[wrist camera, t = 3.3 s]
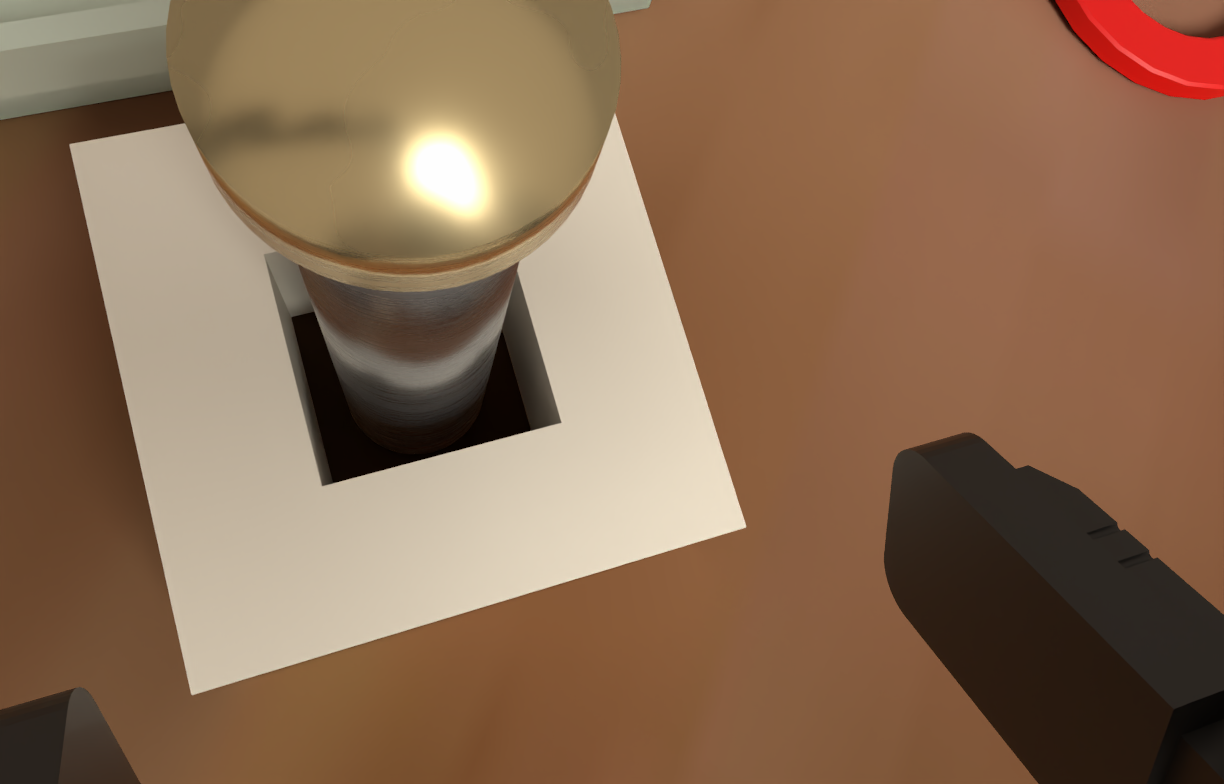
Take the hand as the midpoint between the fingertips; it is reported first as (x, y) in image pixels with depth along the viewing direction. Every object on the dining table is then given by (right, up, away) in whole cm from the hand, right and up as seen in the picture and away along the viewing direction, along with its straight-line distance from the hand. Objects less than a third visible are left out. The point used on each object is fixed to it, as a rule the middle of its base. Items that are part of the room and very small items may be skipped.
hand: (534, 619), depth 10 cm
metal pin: (-4, +2, +13) cm, 13 cm away
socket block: (-4, +2, +12) cm, 13 cm away
